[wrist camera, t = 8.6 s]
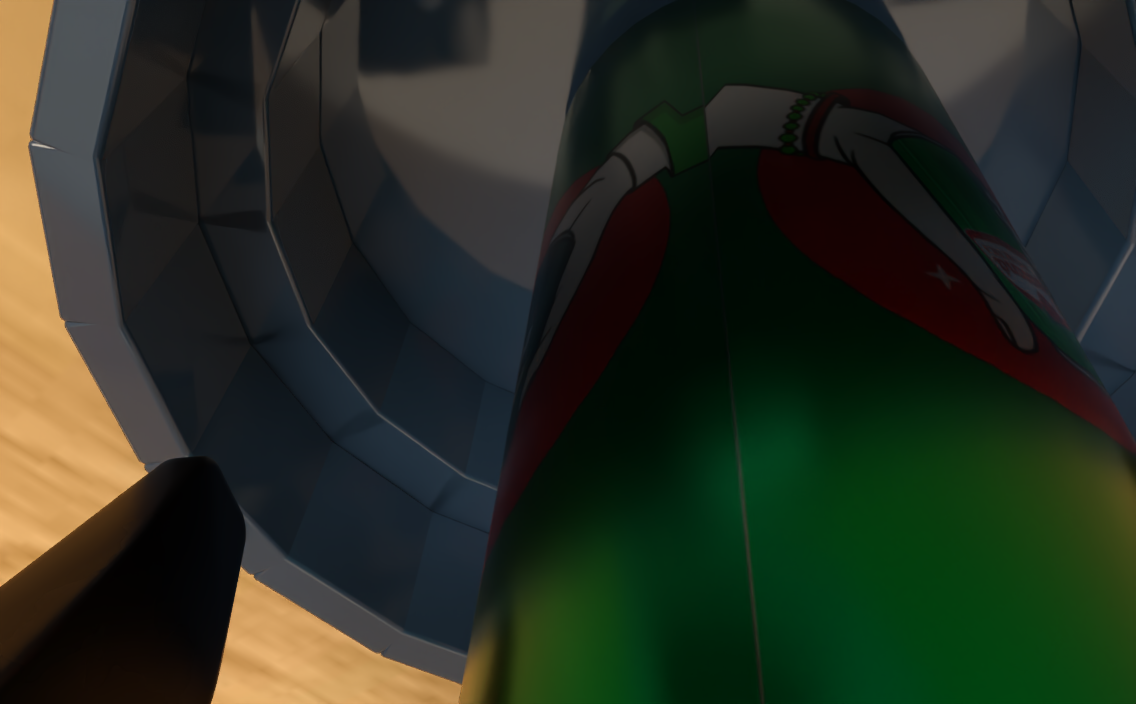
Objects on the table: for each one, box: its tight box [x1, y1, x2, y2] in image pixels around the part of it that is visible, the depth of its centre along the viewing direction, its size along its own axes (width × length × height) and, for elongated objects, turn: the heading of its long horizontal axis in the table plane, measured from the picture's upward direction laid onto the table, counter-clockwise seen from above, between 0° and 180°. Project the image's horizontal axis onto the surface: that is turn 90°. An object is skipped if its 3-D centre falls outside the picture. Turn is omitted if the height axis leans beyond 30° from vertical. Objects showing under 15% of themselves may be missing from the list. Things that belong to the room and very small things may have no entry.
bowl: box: [28, 0, 1136, 685], centre depth 12 cm, size 13×13×5 cm
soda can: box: [459, 0, 1136, 704], centre depth 9 cm, size 5×5×12 cm
